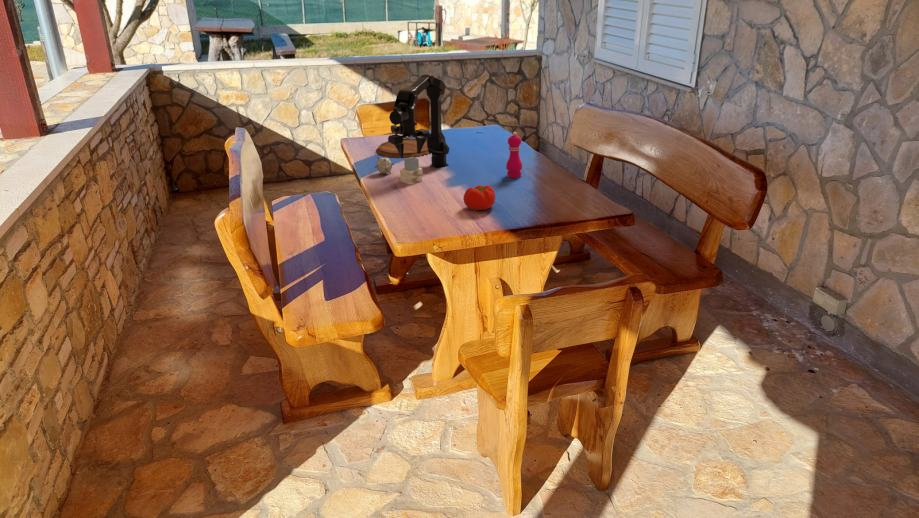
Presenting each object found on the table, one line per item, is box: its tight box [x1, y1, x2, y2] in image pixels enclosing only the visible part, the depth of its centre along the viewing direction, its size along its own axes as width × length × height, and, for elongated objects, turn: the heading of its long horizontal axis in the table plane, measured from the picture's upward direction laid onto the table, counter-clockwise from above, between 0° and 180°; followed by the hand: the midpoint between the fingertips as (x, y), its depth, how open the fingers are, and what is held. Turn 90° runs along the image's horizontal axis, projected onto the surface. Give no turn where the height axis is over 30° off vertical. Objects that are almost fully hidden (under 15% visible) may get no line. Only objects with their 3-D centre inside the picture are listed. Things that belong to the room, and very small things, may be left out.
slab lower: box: [399, 175, 423, 186], centre depth 280 cm, size 7×7×3 cm
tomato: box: [463, 184, 496, 211], centre depth 245 cm, size 13×12×8 cm
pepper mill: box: [505, 131, 523, 179], centre depth 279 cm, size 7×7×20 cm
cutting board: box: [376, 138, 432, 159], centre depth 329 cm, size 32×32×3 cm
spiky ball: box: [374, 156, 395, 176], centre depth 290 cm, size 9×8×10 cm
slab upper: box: [399, 167, 424, 179], centre depth 278 cm, size 7×7×3 cm
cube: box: [403, 157, 420, 171], centre depth 277 cm, size 4×4×4 cm
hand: (410, 155), depth 275 cm, fingers open, 9 cm apart
